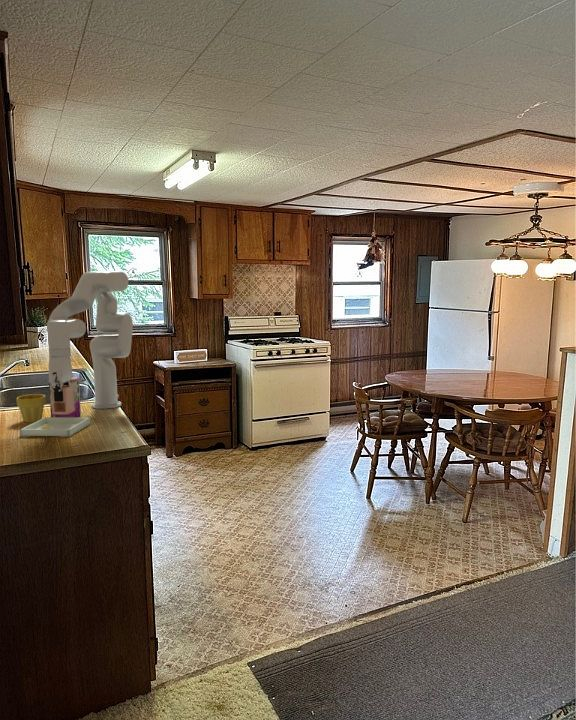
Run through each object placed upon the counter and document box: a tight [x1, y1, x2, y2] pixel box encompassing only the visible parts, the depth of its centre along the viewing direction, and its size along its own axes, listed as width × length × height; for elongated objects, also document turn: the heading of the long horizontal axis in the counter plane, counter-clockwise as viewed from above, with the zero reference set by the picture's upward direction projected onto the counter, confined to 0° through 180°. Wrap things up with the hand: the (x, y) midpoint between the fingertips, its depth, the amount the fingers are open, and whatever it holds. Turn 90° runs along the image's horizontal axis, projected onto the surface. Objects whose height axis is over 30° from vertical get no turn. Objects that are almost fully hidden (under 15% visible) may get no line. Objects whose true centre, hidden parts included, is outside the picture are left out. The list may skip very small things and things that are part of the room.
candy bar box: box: [48, 377, 82, 418], centre depth 211 cm, size 11×5×16 cm, turn 108°
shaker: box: [51, 385, 75, 414], centre depth 199 cm, size 6×6×10 cm
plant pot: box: [16, 393, 47, 423], centre depth 208 cm, size 10×10×10 cm
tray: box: [19, 416, 92, 438], centre depth 194 cm, size 18×18×2 cm
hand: (63, 399), depth 199 cm, fingers closed on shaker, 6 cm apart
